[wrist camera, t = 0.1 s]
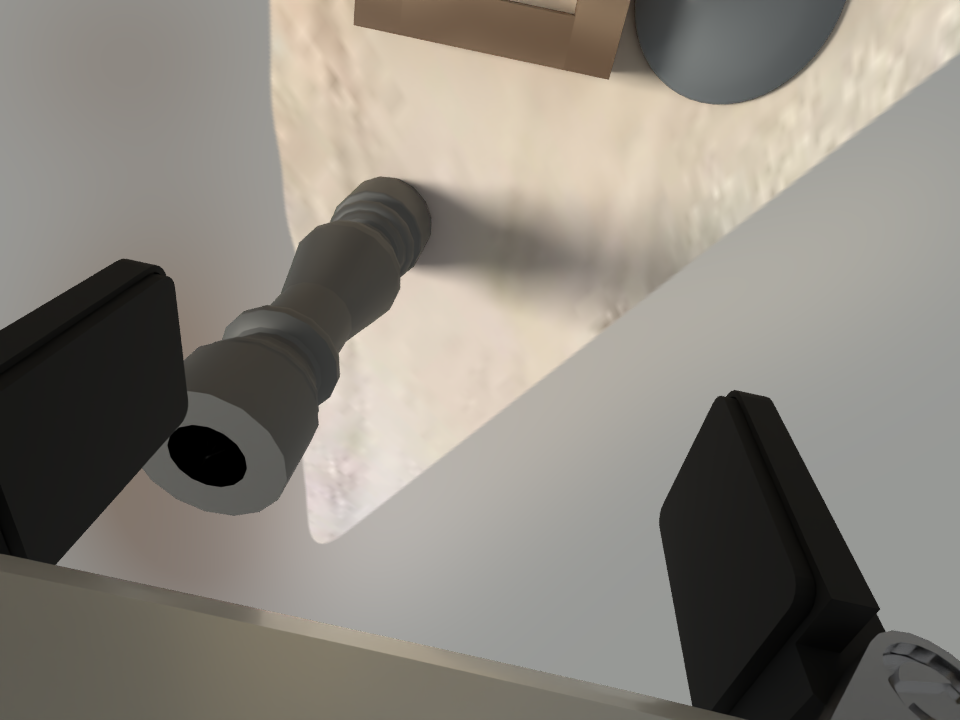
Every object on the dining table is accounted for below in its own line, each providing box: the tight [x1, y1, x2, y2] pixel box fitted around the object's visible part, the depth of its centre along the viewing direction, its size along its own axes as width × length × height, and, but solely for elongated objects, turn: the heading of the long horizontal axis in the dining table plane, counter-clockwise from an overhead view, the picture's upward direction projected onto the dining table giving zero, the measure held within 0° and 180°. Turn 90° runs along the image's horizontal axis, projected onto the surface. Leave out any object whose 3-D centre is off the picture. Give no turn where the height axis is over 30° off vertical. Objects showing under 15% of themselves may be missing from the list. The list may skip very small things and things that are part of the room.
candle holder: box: [142, 177, 431, 516], centre depth 31 cm, size 6×6×25 cm
